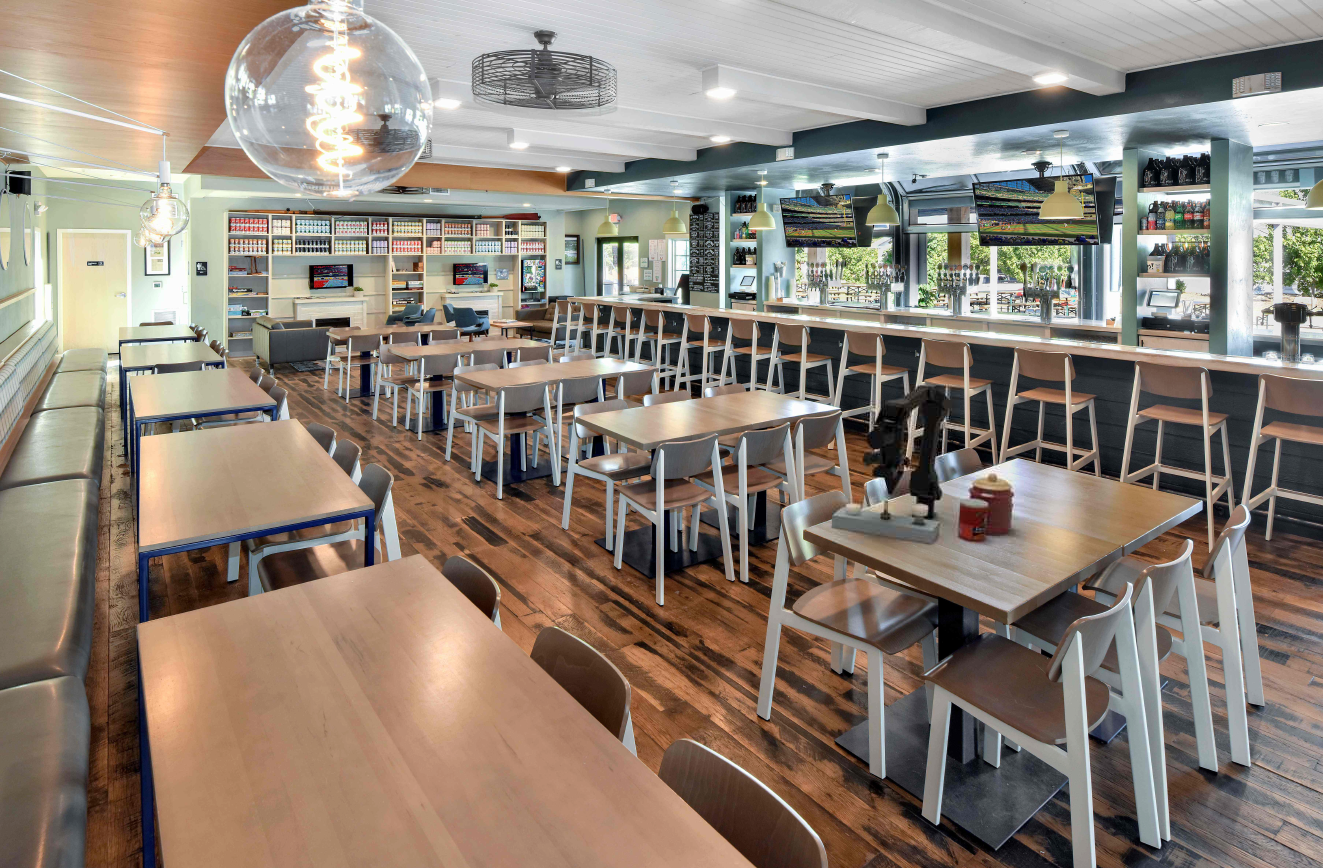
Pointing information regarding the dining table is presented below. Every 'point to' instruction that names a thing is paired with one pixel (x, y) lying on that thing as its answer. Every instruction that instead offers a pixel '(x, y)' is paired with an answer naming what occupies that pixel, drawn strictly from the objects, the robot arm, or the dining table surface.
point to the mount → (887, 526)
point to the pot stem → (885, 512)
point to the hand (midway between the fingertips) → (890, 494)
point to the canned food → (973, 519)
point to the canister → (995, 502)
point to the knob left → (853, 509)
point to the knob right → (919, 512)
